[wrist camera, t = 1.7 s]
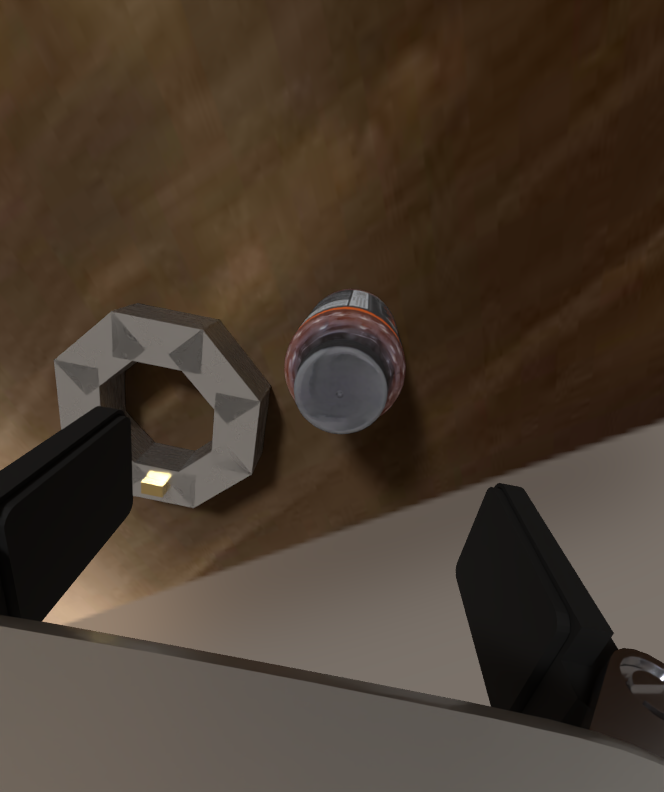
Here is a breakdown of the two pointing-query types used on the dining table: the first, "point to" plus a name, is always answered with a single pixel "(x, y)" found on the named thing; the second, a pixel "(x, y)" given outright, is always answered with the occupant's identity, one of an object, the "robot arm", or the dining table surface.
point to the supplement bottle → (346, 362)
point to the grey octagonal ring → (207, 370)
